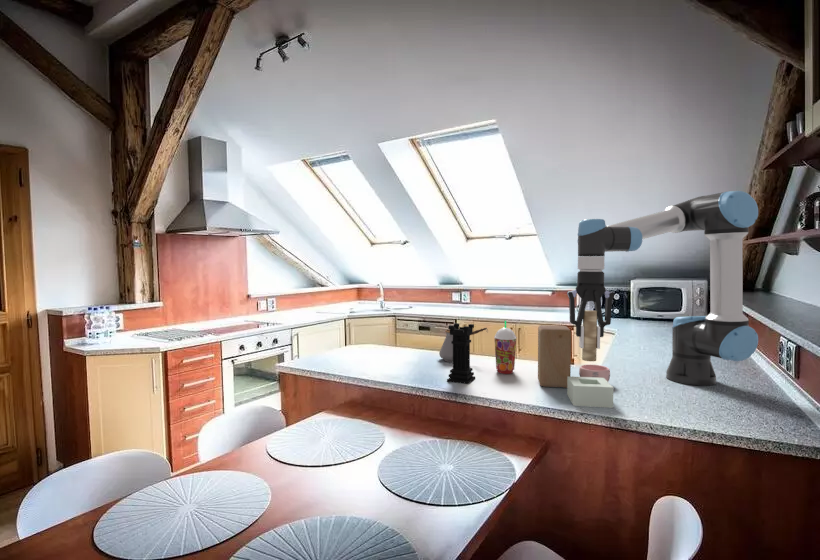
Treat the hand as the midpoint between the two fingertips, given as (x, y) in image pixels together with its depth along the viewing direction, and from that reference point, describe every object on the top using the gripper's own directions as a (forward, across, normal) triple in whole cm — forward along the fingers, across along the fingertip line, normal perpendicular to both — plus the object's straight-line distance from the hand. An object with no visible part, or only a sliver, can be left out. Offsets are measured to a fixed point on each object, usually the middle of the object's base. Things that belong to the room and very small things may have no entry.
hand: (589, 347), depth 136 cm
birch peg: (+4, 0, 0) cm, 4 cm away
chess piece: (+17, +40, -18) cm, 47 cm away
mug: (+17, -6, -21) cm, 28 cm away
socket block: (+17, 0, 0) cm, 17 cm away
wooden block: (+17, +8, -18) cm, 26 cm away
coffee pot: (+17, +41, -49) cm, 66 cm away
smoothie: (+17, +24, -32) cm, 43 cm away
